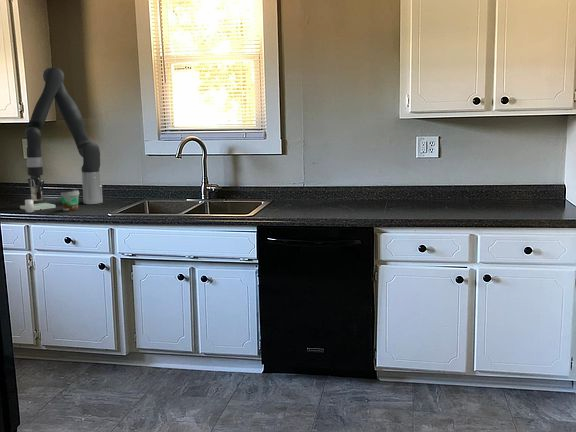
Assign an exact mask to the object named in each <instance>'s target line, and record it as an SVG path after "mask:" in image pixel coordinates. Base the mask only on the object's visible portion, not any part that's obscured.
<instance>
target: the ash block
mask: <svg viewBox="0 0 576 432" xmlns="http://www.w3.org/2000/svg"><path fill="white" fill-rule="evenodd" d="M30 195H31V197H30V198H31V200H33V202H37V201H43V191H42V192H41V199H37V195H36V188H35V187H31V190H30Z"/></svg>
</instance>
